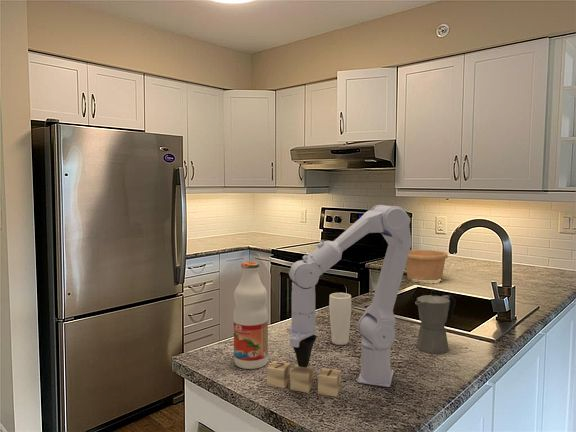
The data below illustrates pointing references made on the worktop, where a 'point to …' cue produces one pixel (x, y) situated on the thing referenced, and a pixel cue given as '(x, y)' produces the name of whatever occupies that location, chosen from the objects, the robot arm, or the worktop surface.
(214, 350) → the worktop surface
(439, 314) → the coffeepot
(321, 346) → the worktop surface
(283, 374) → the block seven
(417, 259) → the pottery
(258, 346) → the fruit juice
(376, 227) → the robot arm
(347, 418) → the worktop surface
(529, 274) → the worktop surface
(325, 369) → the block one
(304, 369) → the plain block
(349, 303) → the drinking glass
